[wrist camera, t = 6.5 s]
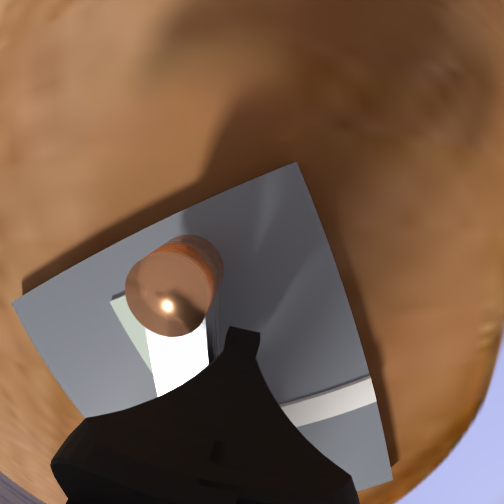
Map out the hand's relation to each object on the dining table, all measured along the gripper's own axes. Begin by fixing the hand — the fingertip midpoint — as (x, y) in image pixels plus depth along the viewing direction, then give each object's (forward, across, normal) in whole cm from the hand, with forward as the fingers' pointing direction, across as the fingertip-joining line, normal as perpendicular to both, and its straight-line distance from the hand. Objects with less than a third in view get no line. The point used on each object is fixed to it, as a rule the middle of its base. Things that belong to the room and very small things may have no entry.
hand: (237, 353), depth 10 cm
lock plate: (+3, 0, +6) cm, 7 cm away
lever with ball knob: (0, +1, +3) cm, 3 cm away
